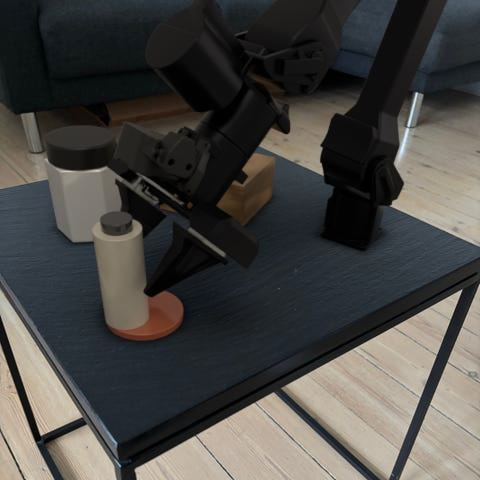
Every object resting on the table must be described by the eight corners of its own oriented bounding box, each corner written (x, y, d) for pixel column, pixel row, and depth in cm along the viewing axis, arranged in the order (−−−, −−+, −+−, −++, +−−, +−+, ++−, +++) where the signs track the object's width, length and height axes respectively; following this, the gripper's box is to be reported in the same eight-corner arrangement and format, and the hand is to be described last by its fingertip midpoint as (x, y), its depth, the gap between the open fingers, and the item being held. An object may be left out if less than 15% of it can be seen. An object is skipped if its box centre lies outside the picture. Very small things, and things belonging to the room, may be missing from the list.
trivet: (199, 311, 55) (198, 305, 54) (148, 352, 49) (147, 345, 49) (142, 285, 58) (141, 279, 57) (88, 320, 53) (87, 314, 52)
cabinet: (159, 208, 73) (157, 167, 69) (197, 179, 81) (197, 141, 78) (241, 229, 69) (243, 186, 66) (272, 196, 78) (275, 157, 74)
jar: (138, 232, 67) (130, 141, 60) (79, 251, 63) (63, 155, 56) (105, 207, 73) (94, 119, 65) (49, 222, 68) (31, 131, 61)
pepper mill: (138, 299, 55) (129, 203, 48) (156, 321, 52) (149, 223, 45) (98, 311, 53) (83, 213, 46) (115, 335, 50) (101, 234, 43)
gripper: (115, 61, 48) (21, 200, 49) (239, 116, 36) (113, 295, 38) (188, 132, 56) (107, 249, 58) (306, 195, 45) (202, 337, 46)
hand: (128, 277), depth 50 cm, fingers open, 7 cm apart
